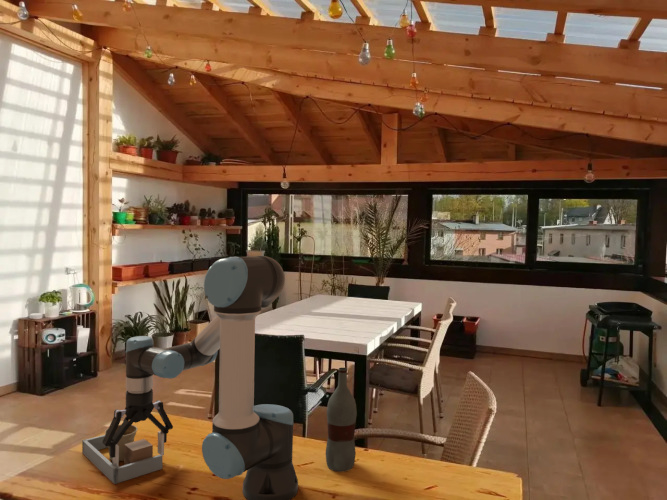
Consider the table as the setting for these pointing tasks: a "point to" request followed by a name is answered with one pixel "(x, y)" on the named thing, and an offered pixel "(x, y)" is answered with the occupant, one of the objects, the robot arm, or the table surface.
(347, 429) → the bottle
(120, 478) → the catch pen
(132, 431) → the flower pot
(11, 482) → the table surface
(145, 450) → the walnut block
